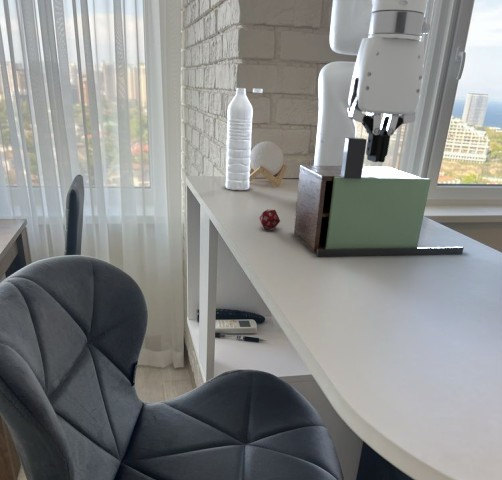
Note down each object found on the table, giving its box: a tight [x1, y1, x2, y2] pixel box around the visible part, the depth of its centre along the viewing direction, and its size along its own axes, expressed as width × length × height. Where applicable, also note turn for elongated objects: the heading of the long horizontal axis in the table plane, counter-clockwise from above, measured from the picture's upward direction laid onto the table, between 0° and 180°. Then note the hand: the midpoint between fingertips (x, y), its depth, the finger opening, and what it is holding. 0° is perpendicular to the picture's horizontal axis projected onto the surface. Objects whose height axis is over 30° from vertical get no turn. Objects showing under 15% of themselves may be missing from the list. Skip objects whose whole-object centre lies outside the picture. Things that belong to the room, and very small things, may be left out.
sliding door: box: [326, 137, 432, 249], centre depth 85 cm, size 2×17×19 cm, turn 102°
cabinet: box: [293, 164, 465, 257], centre depth 92 cm, size 14×28×13 cm, turn 102°
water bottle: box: [225, 87, 264, 191], centre depth 134 cm, size 9×6×25 cm
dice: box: [259, 209, 281, 230], centre depth 100 cm, size 4×4×4 cm
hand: (375, 160), depth 82 cm, fingers closed
